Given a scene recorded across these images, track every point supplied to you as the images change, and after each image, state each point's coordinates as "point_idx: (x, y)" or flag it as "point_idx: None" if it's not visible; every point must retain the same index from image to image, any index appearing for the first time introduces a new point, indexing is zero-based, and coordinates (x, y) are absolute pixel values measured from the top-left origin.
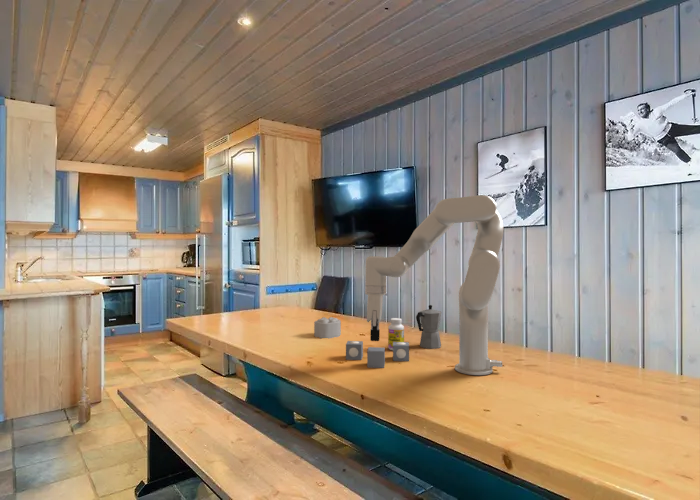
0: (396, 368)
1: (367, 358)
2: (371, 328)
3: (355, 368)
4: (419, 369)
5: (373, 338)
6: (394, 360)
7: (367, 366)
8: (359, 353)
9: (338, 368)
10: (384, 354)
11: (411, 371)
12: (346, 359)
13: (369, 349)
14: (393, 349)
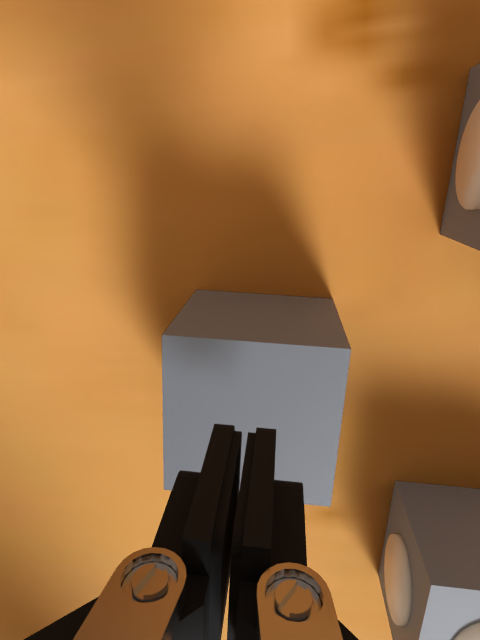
0: None
1: (180, 311)
2: (108, 584)
3: (158, 192)
4: None
5: (180, 478)
6: (395, 492)
7: (194, 292)
8: (467, 221)
9: (139, 26)
10: None
11: None
12: (470, 75)
13: (234, 358)
14: (419, 554)
